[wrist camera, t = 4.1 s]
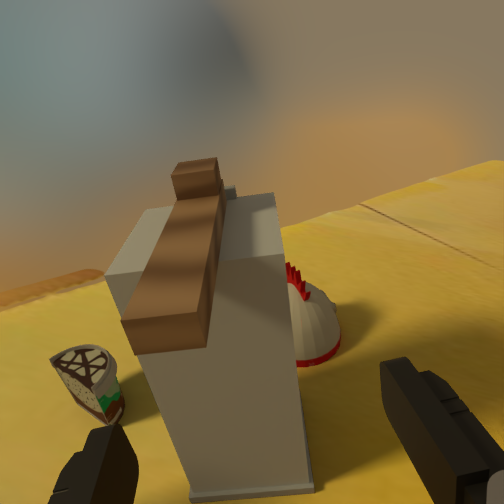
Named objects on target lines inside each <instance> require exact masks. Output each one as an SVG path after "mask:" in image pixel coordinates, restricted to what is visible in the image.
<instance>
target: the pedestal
mask: <svg viewBox="0 0 504 504" xmlns="http://www.w3.org/2000/svg"><path fill="white" fill-rule="evenodd" d="M224 189H225V195H226V200H227V205H226V212H225V219H224V226H223V233H222V240H221V247H220V255H219V262H218V269H217V276H216V283H215V290H214V297H213V305H212V312H211V319H210V326H209V333H208V340H207V347H206V348H199V349H190V350H181V351H172V352H163V353H153V354H144V355H137V357H138V359H139V362H140V364H141V367H142V369H143V372H144V374H145V376H146V379H147V381H148V384H149V386H150V389H151V391H152V393H153V396H154V398H155V401H156V403H157V406H158V408H159V411H160V413H161V415H162V418H163V420H164V423H165V425H166V428H167V430H168V432H169V435H170V437H171V440H172V442H173V445H174V447H175V449H176V452H177V454H178V457H179V459H180V462H181V464H182V466H183V469H184V471H185V474H186V476H187V479H188V481H189V484H190V493H189V500H190V502H191V503H200V502H212V501H224V500H236V499H248V498H261V497H273V496H285V495H297V494H309V493H315V491H314V483H313V476H312V469H311V463H310V456H309V449H308V442H307V436H306V429H305V422H304V416H303V409H302V402H301V395H300V389H299V385H298V375H297V366H296V357H295V348H294V339H293V330H292V320H291V311H290V302H289V293H288V284H287V275H286V266H285V256H284V249H283V244H282V238H281V232H280V226H279V220H278V215H277V209H276V203H275V197H274V193H273V192H272V193H265V194H257V195H251V196H244V197H237V195H236V190H235V185H232V186H224ZM173 207H174V206H168V207H161V208H154V209H146V210H145V212H144V213H143V215H142V216H141V218H140V219H139V221H138V223H137V224H136V226H135V227H134V229H133V231H132V232H131V234H130V235H129V237H128V238H127V240H126V242H125V243H124V245H123V246H122V248H121V250H120V251H119V253H118V254H117V256H116V257H115V259H114V261H113V262H112V264H111V266H110V267H109V269H108V270H107V272H106V273H105V275H104V276H105V279H106V282H107V284H108V286H109V289H110V291H111V294H112V296H113V299H114V301H115V303H116V306H117V308H118V311H119V313H120V316H121V318H122V316H123V314H124V312H125V310H126V307H127V305H128V303H129V301H130V299H131V297H132V295H133V292H134V290H135V288H136V286H137V284H138V282H139V280H140V277H141V275H142V273H143V271H144V269H145V267H146V265H147V263H148V260H149V258H150V256H151V254H152V252H153V250H154V248H155V245H156V243H157V241H158V239H159V237H160V235H161V233H162V230H163V228H164V226H165V224H166V222H167V220H168V218H169V215H170V213H171V211H172V209H173Z"/></svg>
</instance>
